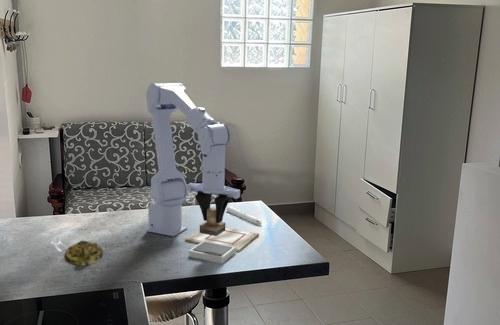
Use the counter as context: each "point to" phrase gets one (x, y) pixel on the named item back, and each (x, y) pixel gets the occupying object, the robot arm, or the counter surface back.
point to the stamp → (212, 224)
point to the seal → (84, 253)
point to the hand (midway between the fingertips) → (212, 220)
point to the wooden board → (225, 238)
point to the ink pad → (212, 252)
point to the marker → (244, 215)
